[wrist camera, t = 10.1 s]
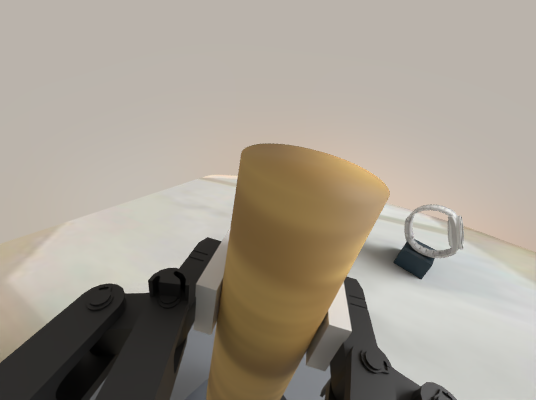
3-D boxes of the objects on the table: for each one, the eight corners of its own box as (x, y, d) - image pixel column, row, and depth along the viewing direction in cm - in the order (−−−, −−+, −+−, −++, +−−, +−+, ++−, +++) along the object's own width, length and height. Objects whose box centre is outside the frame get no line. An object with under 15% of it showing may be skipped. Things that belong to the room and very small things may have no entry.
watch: (435, 287, 33) (482, 230, 28) (383, 256, 37) (415, 202, 32) (440, 270, 37) (482, 218, 32) (392, 244, 41) (422, 194, 36)
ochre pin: (246, 339, 15) (300, 141, 8) (289, 395, 13) (408, 185, 6) (192, 385, 12) (210, 146, 6) (234, 466, 10) (344, 227, 3)
